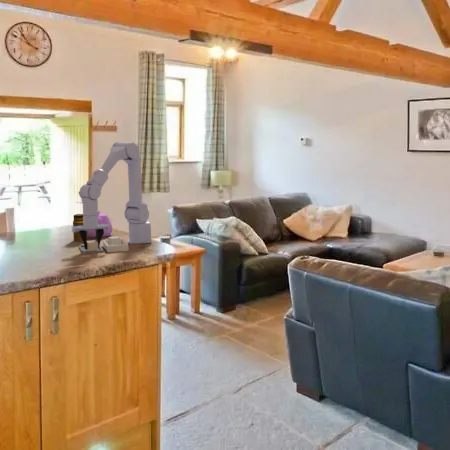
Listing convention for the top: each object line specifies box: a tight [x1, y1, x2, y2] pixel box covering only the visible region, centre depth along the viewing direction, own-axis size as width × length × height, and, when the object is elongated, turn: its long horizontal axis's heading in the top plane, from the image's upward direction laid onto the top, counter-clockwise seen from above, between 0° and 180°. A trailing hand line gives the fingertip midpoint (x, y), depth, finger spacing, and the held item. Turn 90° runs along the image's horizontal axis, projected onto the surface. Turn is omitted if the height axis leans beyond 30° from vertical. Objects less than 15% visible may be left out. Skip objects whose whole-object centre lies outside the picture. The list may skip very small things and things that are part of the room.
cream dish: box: [102, 238, 129, 253], centre depth 212 cm, size 8×12×3 cm
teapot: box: [87, 210, 113, 239], centre depth 241 cm, size 20×13×12 cm, turn 23°
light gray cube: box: [107, 235, 121, 245], centre depth 214 cm, size 4×4×4 cm
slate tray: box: [78, 244, 105, 255], centre depth 210 cm, size 8×13×1 cm, turn 21°
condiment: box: [72, 213, 89, 243], centre depth 227 cm, size 7×8×12 cm
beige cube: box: [86, 239, 98, 251], centre depth 206 cm, size 4×4×4 cm
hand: (91, 248), depth 206 cm, fingers closed on beige cube, 4 cm apart
